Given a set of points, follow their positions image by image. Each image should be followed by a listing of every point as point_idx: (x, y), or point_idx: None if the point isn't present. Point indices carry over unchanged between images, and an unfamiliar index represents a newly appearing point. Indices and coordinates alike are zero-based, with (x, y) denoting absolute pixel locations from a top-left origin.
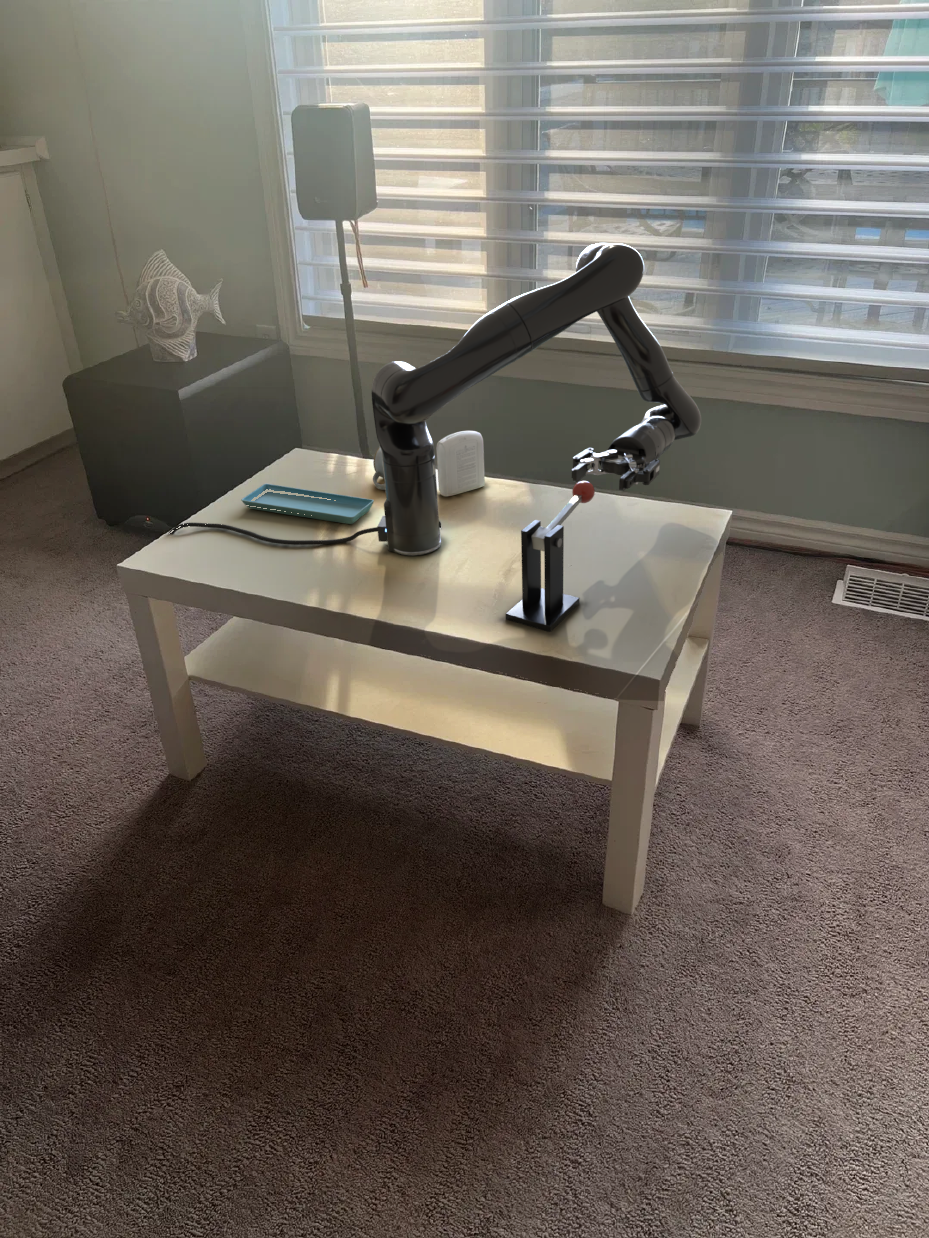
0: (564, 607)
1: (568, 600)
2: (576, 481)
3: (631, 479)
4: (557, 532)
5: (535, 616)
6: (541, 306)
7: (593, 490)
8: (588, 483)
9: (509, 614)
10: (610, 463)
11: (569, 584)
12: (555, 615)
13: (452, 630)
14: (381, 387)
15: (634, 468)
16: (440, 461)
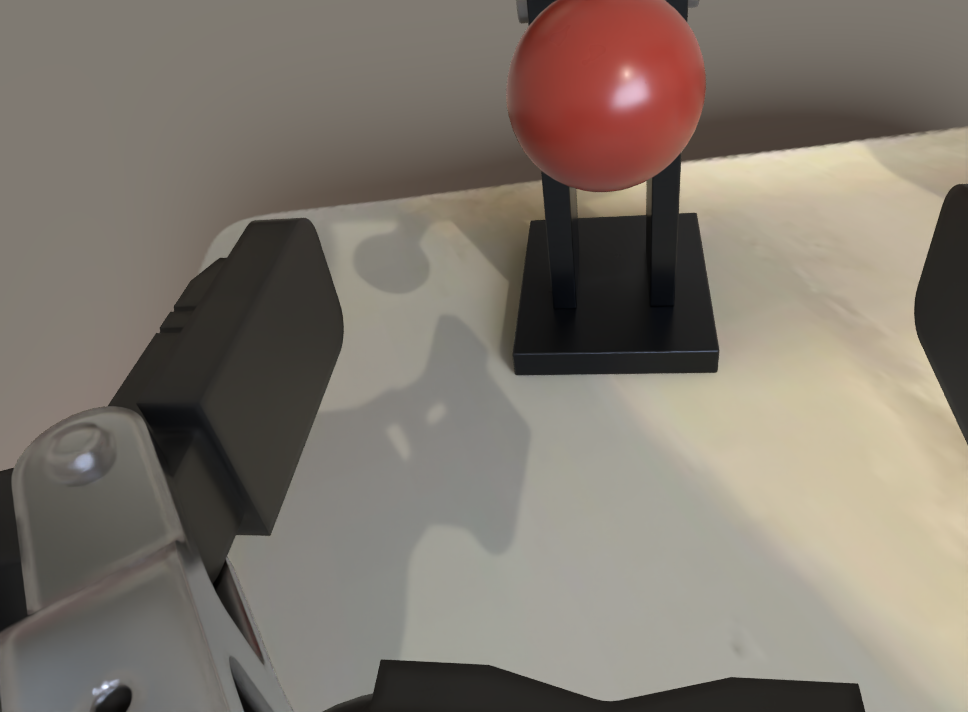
0: (536, 295)
1: (544, 327)
2: (916, 311)
3: (174, 322)
4: None
5: (599, 233)
6: None
7: (508, 73)
8: (552, 5)
9: (681, 213)
10: (699, 706)
11: (629, 476)
12: (542, 257)
13: (795, 162)
14: None
15: (85, 449)
16: None
